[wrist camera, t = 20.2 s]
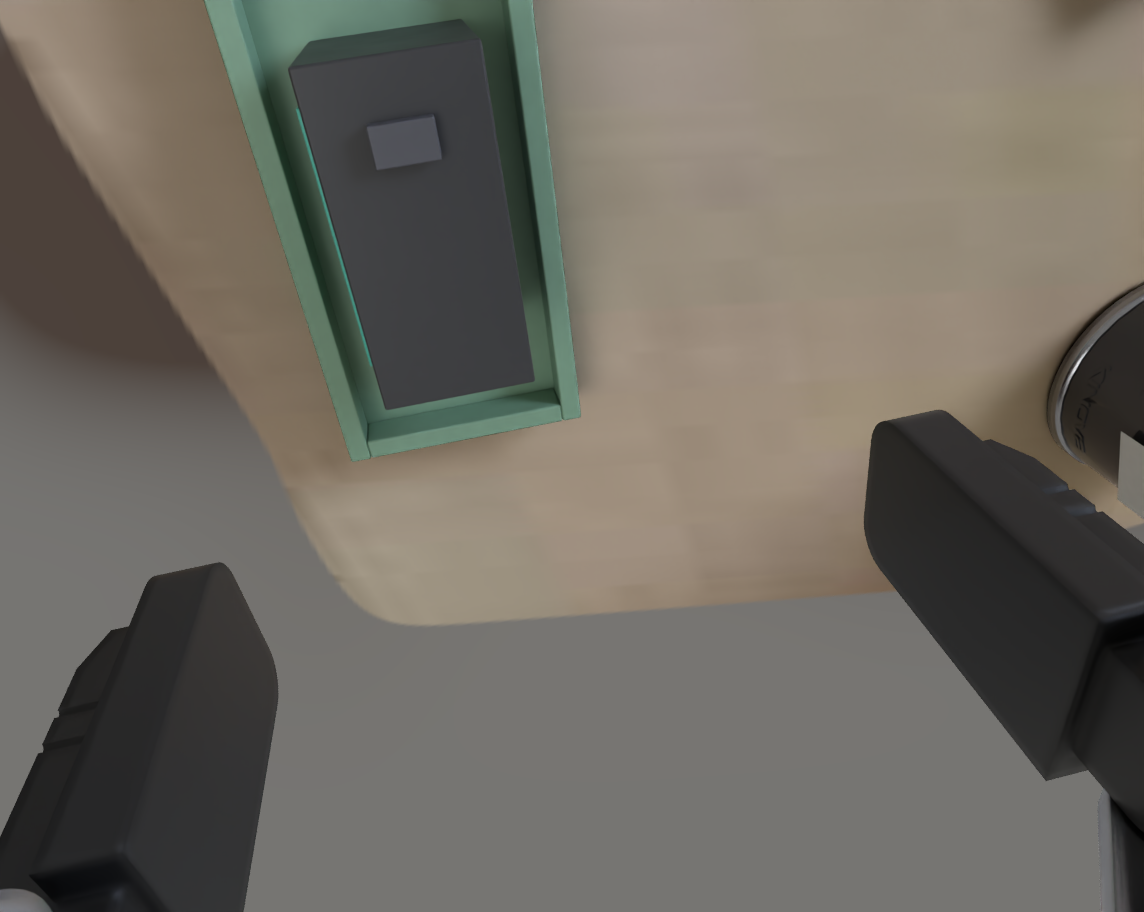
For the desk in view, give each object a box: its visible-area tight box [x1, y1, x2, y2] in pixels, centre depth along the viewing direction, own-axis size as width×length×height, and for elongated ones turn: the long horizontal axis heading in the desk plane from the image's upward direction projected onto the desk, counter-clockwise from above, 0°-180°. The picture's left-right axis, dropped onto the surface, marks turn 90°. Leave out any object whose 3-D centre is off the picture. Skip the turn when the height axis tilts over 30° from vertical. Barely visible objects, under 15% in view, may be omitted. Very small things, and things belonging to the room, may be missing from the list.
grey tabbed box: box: [288, 19, 535, 410], centre depth 22 cm, size 5×9×6 cm, turn 7°
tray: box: [204, 0, 581, 462], centre depth 24 cm, size 8×17×2 cm, turn 6°
